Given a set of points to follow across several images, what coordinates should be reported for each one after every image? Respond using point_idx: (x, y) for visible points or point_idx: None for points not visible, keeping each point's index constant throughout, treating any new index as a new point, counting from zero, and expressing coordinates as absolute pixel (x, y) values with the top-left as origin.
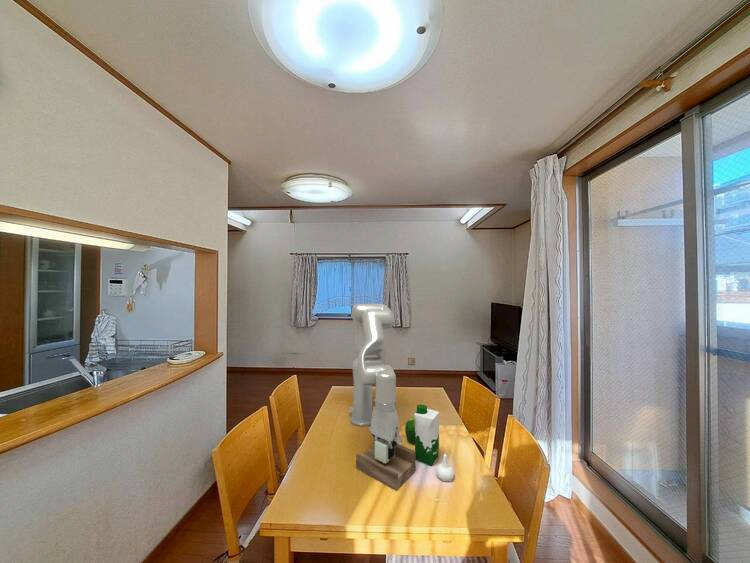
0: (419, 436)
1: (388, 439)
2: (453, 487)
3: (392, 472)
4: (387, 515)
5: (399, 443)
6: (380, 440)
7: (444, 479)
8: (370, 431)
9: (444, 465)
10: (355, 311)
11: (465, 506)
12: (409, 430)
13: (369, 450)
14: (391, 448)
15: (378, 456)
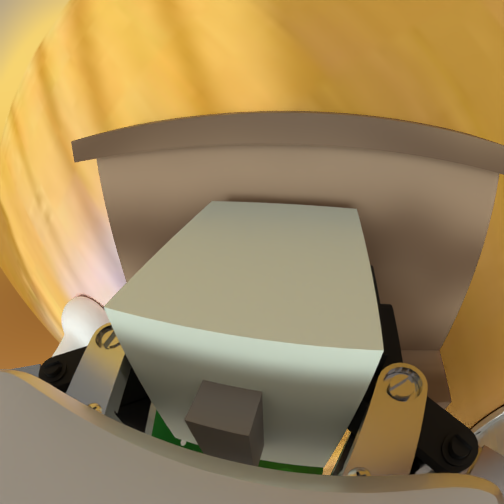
0: None
1: (4, 394)
2: (58, 284)
3: (99, 144)
4: (92, 4)
5: (19, 368)
6: (296, 407)
7: (73, 298)
8: (501, 457)
9: (63, 338)
10: None
11: (16, 234)
12: (282, 469)
13: (454, 297)
14: (110, 325)
15: (299, 219)
